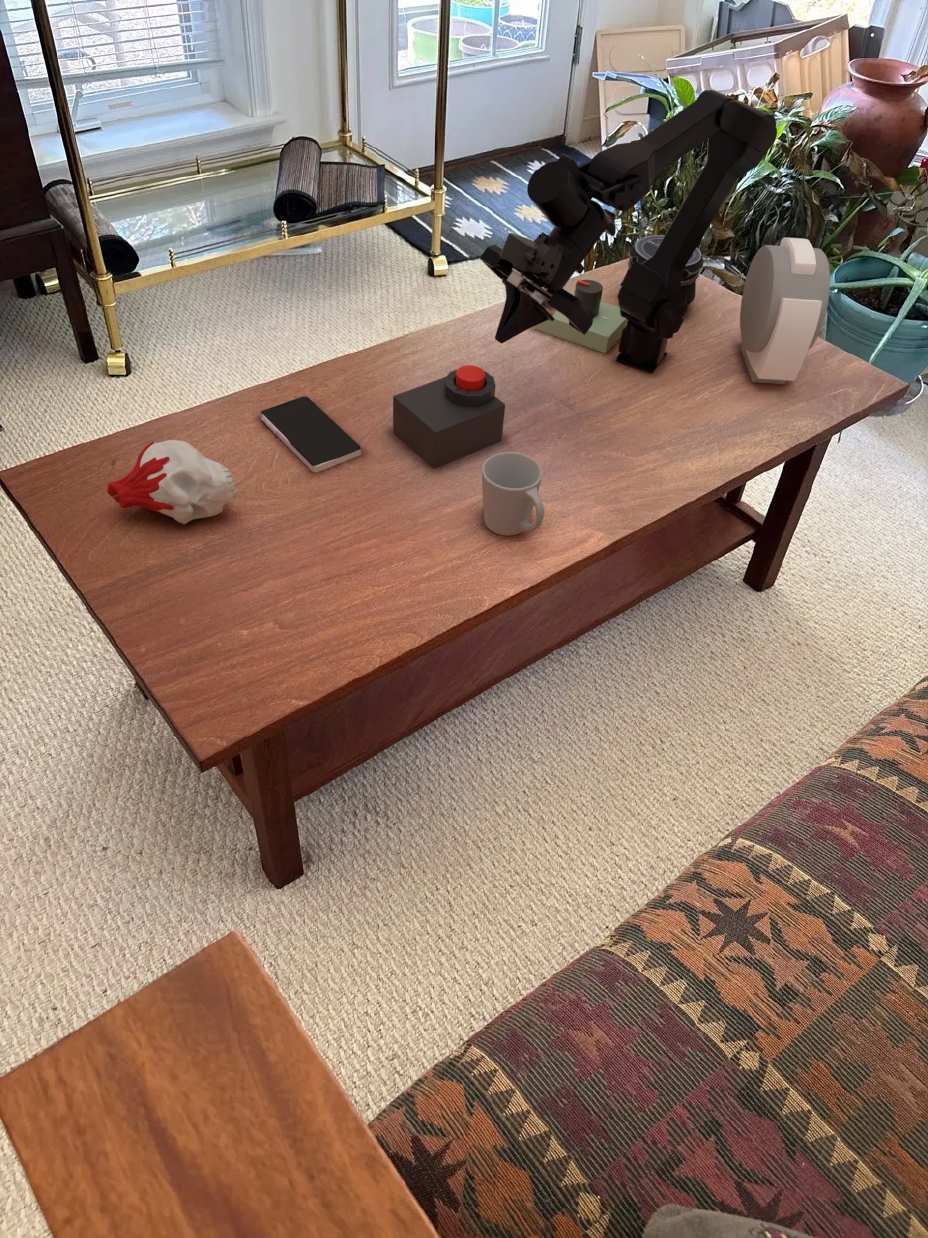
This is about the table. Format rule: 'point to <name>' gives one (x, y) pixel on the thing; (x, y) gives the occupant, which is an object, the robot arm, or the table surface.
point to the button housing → (448, 419)
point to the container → (690, 273)
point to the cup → (511, 493)
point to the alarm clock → (783, 308)
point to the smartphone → (310, 433)
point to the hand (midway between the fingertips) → (497, 341)
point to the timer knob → (589, 294)
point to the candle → (175, 482)
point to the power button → (470, 378)
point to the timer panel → (600, 333)
